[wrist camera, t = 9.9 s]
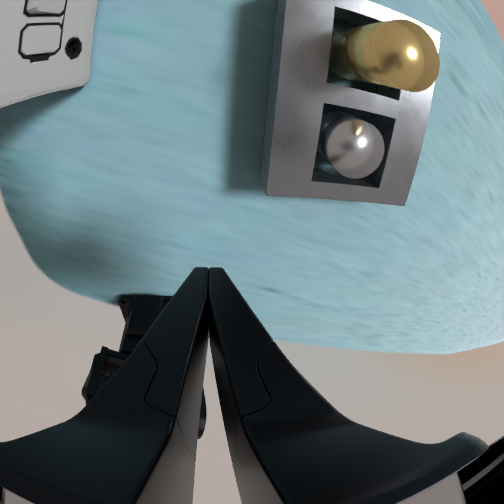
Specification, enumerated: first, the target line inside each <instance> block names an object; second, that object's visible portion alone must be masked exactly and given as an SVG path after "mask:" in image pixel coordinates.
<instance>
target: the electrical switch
mask: <svg viewBox="0 0 504 504" xmlns="http://www.w3.org/2000/svg"><path fill="white" fill-rule="evenodd" d="M97 6H98V0H0V108H3V107H5V106H8V105H11V104H14V103H17V102H20V101H23V100H27V99H30V98H33V97H37V96H40V95H44V94H48V93H52V92H56V91H60V90H67V89H71V88H76V87H80V86H84V85H85V84H86V83H87V82H88V80H89V78H90V71H91V55H92V44H93V34H94V26H95V19H96V12H97Z"/></svg>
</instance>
